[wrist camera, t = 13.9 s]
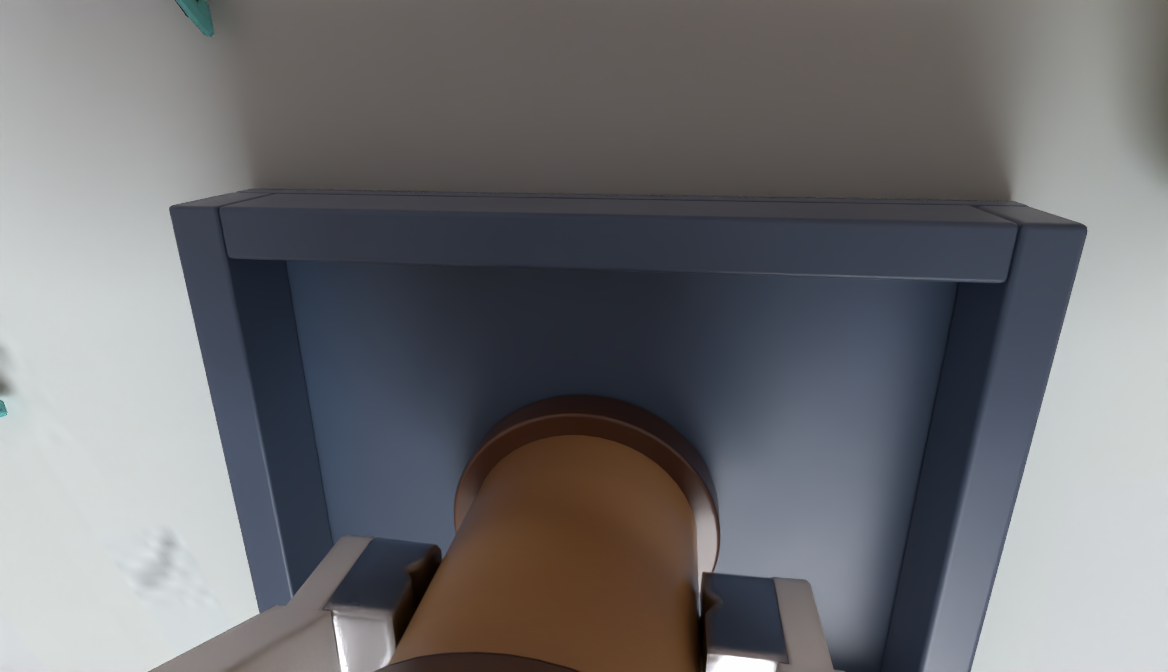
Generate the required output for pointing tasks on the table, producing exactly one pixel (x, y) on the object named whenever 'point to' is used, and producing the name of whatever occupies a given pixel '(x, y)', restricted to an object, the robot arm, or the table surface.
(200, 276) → the tray
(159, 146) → the table surface
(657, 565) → the spool
